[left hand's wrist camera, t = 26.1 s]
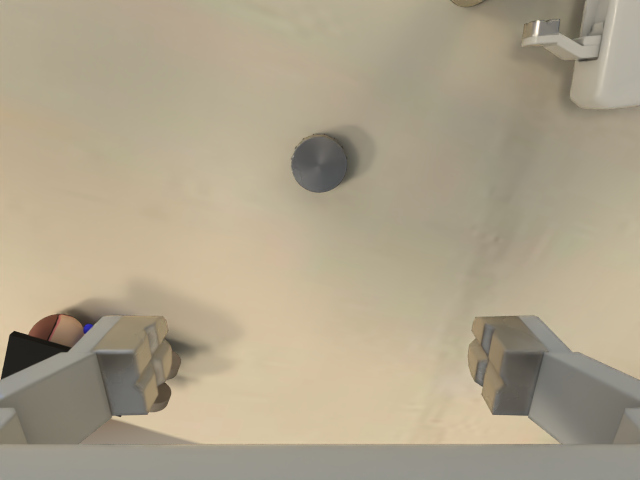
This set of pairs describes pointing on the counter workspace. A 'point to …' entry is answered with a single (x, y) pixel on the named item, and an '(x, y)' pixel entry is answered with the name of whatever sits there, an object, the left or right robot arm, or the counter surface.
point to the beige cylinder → (466, 2)
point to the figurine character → (62, 349)
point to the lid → (319, 163)
